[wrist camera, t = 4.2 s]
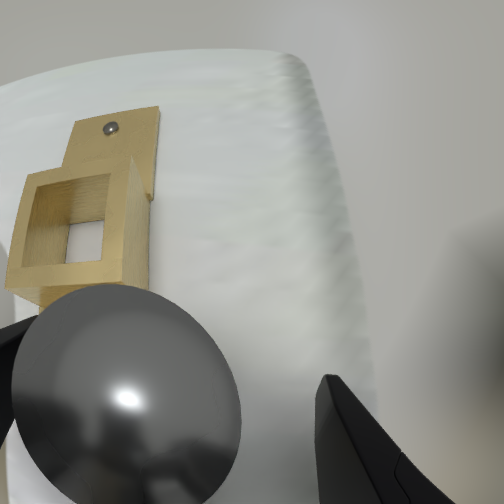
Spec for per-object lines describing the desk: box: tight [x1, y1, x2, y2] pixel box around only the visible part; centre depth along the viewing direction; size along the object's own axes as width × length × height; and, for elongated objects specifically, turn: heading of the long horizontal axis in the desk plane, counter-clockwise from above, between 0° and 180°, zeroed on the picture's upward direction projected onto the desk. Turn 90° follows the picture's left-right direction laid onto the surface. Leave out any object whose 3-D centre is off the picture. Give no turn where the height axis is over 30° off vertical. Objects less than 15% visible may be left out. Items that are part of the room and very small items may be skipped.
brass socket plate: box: [5, 106, 160, 314], centre depth 15 cm, size 23×7×4 cm, turn 6°
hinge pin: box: [11, 284, 241, 504], centre depth 9 cm, size 4×4×12 cm
